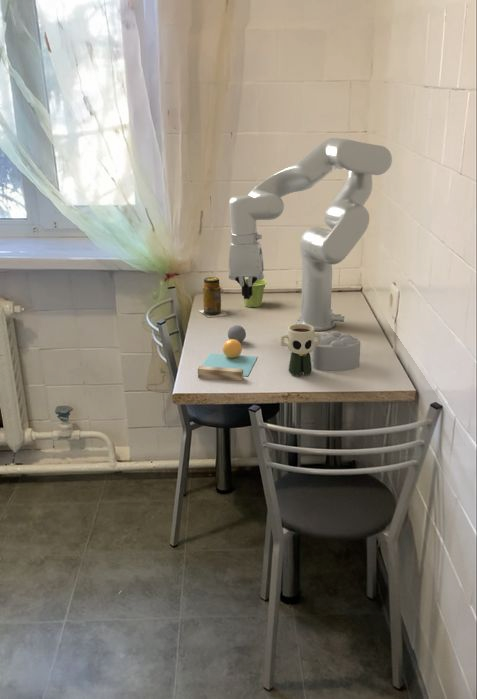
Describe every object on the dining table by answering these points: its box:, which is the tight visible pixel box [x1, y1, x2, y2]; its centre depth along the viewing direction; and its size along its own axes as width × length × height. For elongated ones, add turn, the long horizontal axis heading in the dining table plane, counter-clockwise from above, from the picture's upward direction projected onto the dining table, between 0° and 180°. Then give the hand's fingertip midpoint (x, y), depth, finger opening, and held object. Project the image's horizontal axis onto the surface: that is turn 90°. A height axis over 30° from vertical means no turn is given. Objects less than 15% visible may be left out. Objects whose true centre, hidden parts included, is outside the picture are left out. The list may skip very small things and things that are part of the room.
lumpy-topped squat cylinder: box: [311, 330, 361, 373], centre depth 183 cm, size 10×13×9 cm
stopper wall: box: [197, 365, 244, 382], centre depth 177 cm, size 12×2×2 cm, turn 78°
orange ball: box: [222, 339, 243, 358], centre depth 189 cm, size 6×6×6 cm
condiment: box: [198, 276, 228, 318], centre depth 226 cm, size 7×8×12 cm
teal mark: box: [196, 352, 258, 377], centre depth 185 cm, size 14×14×1 cm
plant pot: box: [240, 278, 268, 308], centre depth 234 cm, size 9×9×9 cm
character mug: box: [280, 323, 322, 376], centre depth 177 cm, size 11×7×13 cm, turn 94°
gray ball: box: [227, 324, 247, 344], centre depth 200 cm, size 6×6×6 cm
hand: (247, 297), depth 202 cm, fingers closed
